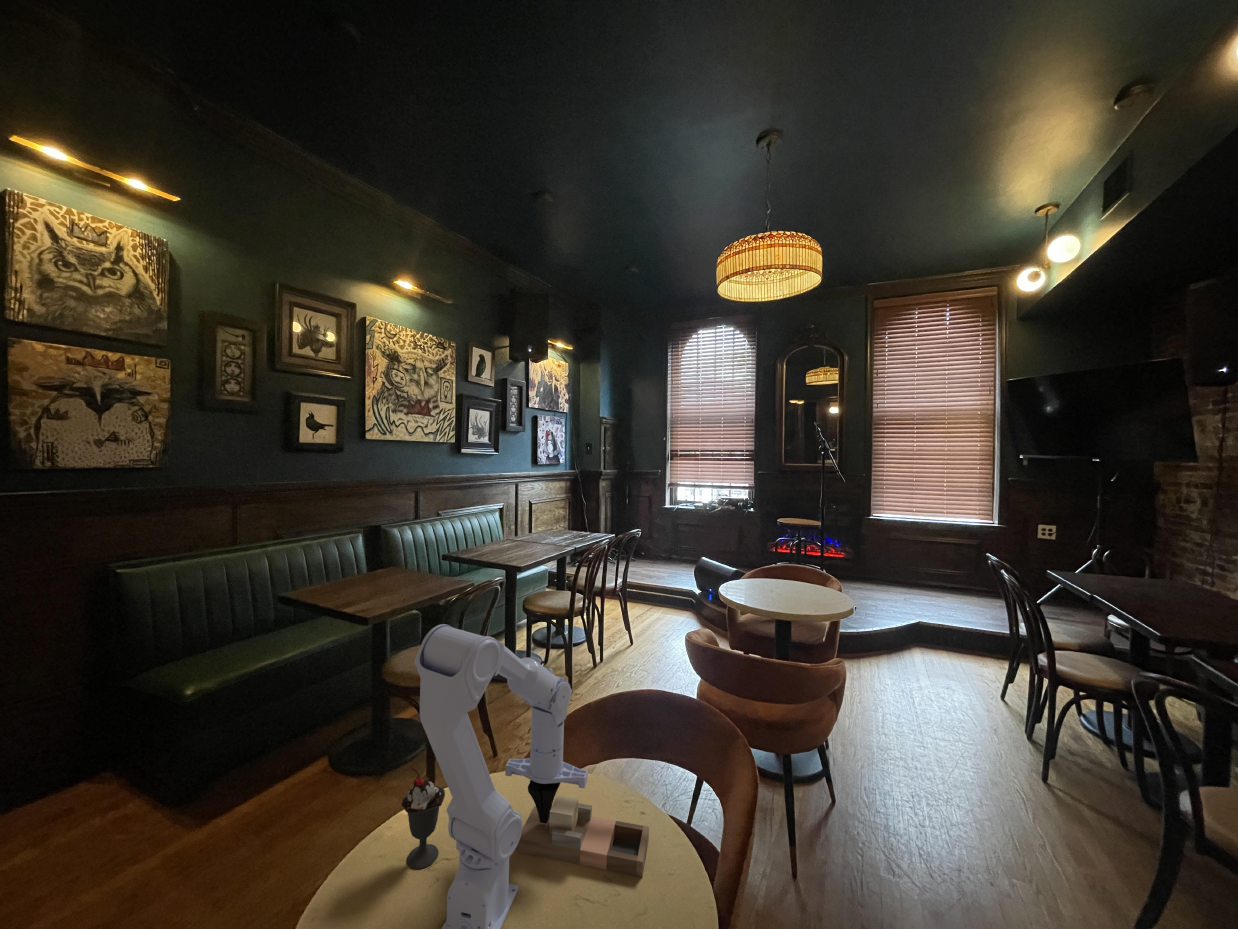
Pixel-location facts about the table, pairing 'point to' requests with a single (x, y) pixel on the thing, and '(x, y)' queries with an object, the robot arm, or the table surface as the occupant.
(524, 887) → the table surface
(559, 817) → the block
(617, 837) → the wooden stepped tray
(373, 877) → the table surface
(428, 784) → the sundae
